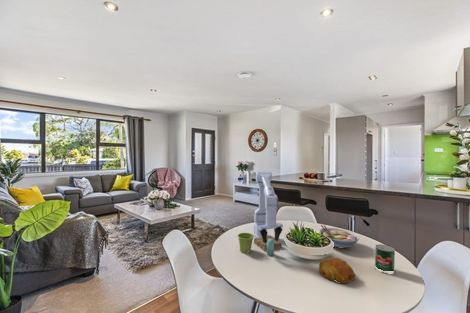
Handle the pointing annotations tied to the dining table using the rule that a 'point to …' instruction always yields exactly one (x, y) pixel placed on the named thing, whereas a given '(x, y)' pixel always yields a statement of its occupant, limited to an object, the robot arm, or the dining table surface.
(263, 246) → the socket block
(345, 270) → the golden brown oval lump
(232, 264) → the dining table surface
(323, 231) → the ramen bowl
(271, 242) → the peg
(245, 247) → the plant pot
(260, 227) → the robot arm
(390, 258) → the canned tomato
